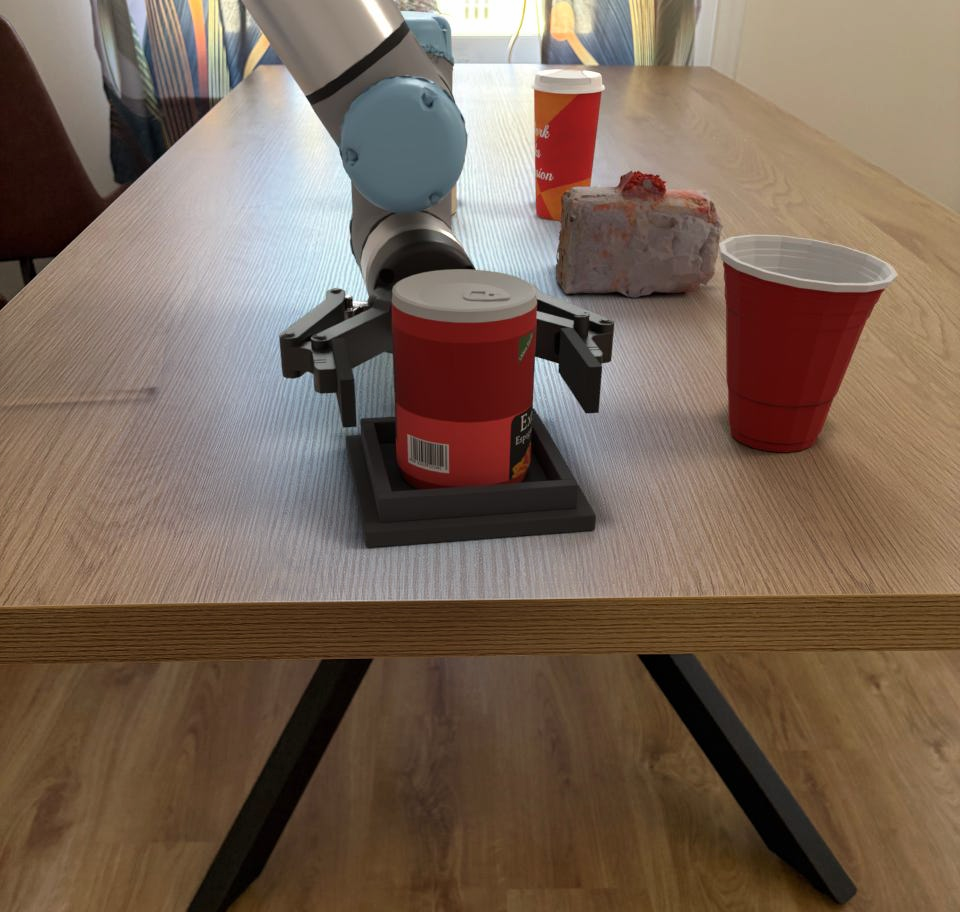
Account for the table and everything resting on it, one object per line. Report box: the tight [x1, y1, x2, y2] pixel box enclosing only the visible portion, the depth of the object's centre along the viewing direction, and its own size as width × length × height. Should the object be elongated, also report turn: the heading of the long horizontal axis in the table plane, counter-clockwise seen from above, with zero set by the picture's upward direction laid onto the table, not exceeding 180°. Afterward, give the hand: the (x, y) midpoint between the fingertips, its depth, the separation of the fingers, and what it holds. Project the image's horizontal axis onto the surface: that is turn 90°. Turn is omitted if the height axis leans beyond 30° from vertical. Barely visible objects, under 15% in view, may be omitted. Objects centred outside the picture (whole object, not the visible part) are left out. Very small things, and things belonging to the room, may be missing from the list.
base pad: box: [345, 407, 597, 548], centre depth 67 cm, size 13×13×2 cm
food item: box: [555, 170, 724, 298], centre depth 99 cm, size 14×8×10 cm, turn 95°
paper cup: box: [530, 68, 606, 221], centre depth 120 cm, size 8×8×14 cm
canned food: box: [391, 269, 537, 490], centre depth 64 cm, size 8×8×11 cm
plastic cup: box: [718, 234, 899, 453], centre depth 71 cm, size 11×11×12 cm
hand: (473, 397), depth 61 cm, fingers open, 13 cm apart
